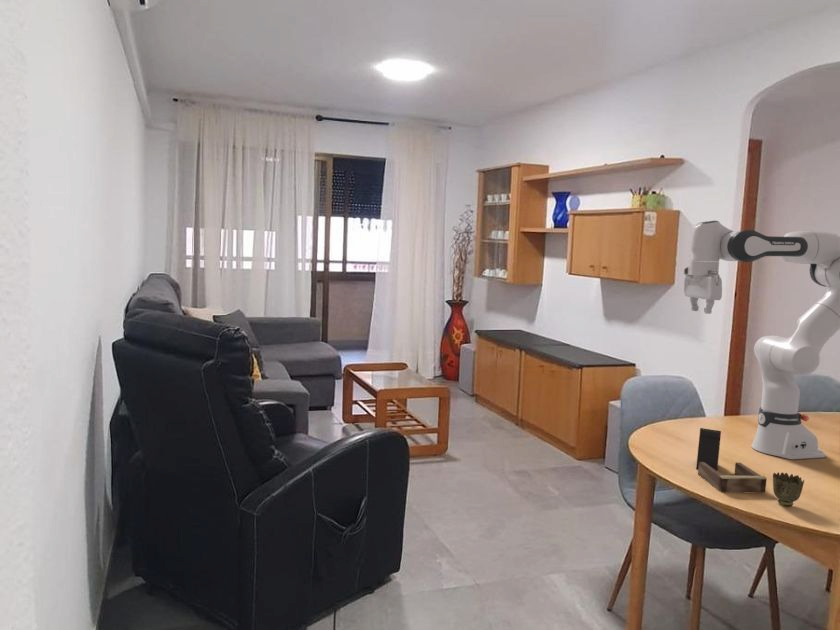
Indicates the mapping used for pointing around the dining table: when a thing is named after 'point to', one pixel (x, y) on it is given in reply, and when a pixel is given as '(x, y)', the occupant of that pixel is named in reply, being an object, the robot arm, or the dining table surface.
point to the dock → (734, 479)
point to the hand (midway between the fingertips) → (701, 312)
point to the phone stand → (709, 447)
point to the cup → (787, 488)
